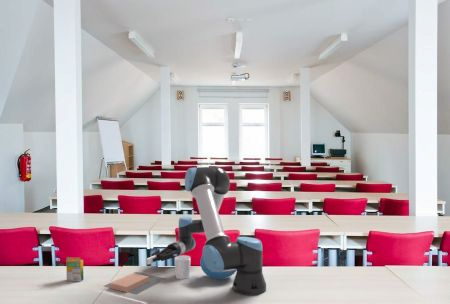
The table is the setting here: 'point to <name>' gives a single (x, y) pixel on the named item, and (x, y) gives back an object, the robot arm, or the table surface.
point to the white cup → (182, 266)
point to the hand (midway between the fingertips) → (147, 261)
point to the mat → (152, 281)
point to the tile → (129, 282)
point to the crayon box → (74, 269)
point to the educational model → (216, 274)
